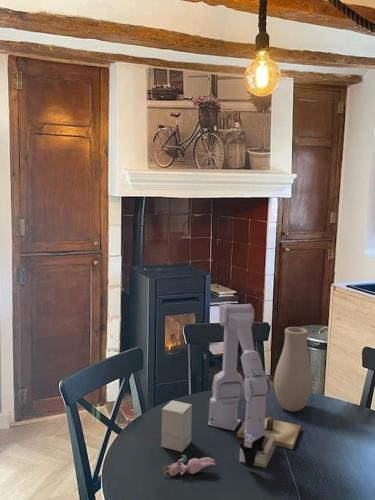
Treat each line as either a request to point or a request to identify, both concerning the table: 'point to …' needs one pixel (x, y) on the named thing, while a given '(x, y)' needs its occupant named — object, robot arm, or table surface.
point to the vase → (293, 371)
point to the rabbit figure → (189, 465)
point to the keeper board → (278, 432)
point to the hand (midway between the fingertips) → (253, 458)
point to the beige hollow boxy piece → (264, 456)
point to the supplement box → (176, 425)
